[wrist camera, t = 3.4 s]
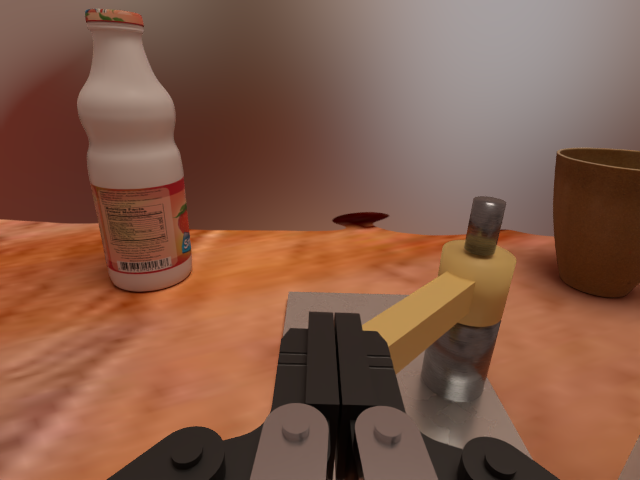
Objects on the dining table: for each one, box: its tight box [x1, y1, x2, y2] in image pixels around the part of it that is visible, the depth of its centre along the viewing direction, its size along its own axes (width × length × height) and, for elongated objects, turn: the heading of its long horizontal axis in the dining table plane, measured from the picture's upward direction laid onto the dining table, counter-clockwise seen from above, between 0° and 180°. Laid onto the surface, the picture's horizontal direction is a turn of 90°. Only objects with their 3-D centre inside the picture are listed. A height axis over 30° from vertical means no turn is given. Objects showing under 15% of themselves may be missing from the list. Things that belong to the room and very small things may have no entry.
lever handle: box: [362, 240, 516, 374], centre depth 23 cm, size 19×5×4 cm, turn 135°
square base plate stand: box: [283, 197, 533, 480], centre depth 29 cm, size 17×24×16 cm
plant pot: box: [553, 148, 640, 298], centre depth 47 cm, size 15×15×16 cm
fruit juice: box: [77, 9, 192, 292], centre depth 42 cm, size 9×9×28 cm
